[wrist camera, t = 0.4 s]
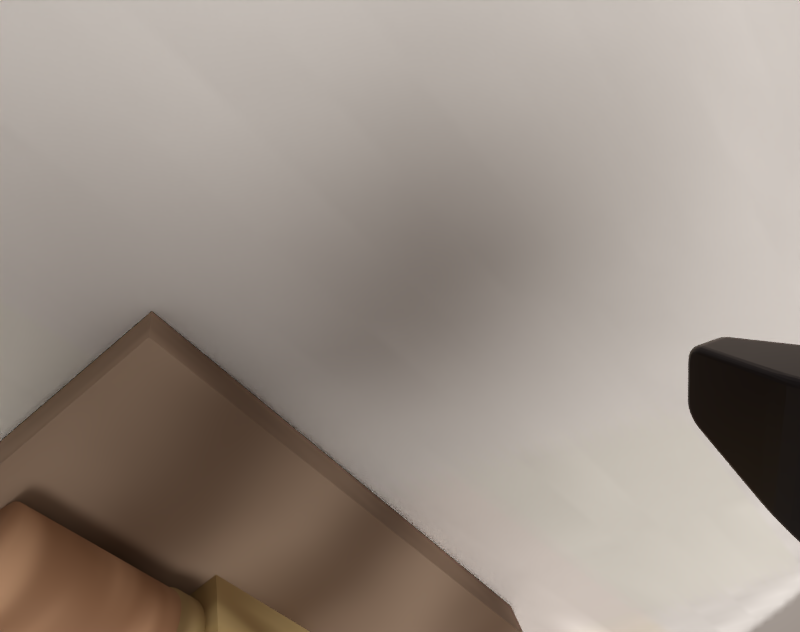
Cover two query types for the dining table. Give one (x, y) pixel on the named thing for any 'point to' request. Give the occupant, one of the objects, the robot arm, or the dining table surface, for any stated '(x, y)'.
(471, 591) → the valve stand
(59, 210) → the dining table surface
